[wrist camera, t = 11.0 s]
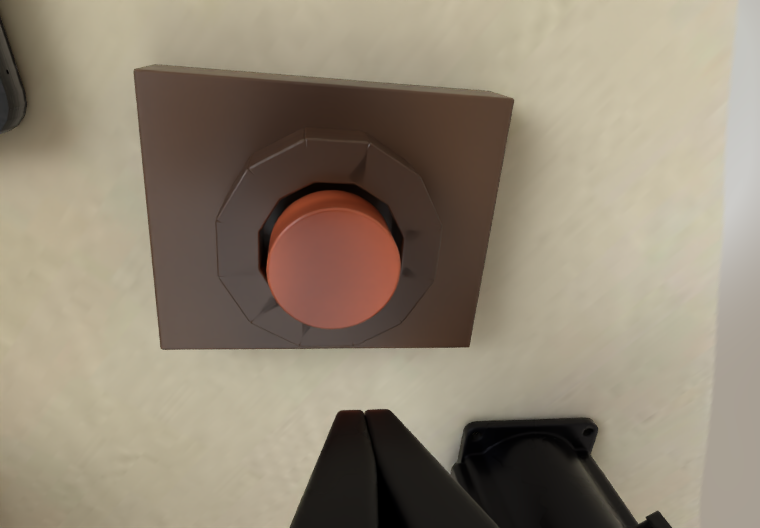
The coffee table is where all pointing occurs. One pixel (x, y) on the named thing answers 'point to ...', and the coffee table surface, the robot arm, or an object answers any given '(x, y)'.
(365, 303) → the button
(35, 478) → the coffee table surface
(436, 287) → the switch box
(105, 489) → the coffee table surface
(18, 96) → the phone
